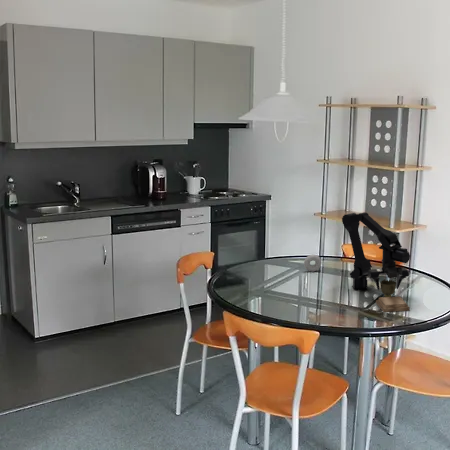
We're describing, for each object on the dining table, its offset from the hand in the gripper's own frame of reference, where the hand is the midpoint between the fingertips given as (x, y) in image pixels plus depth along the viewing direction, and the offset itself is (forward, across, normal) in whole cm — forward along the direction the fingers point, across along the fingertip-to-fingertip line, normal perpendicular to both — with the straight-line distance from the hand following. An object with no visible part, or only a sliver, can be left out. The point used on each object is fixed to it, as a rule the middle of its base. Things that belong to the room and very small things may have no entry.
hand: (387, 289), depth 284 cm
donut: (+4, -28, +48) cm, 56 cm away
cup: (+4, 0, 0) cm, 4 cm away
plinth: (+4, -2, -13) cm, 14 cm away
